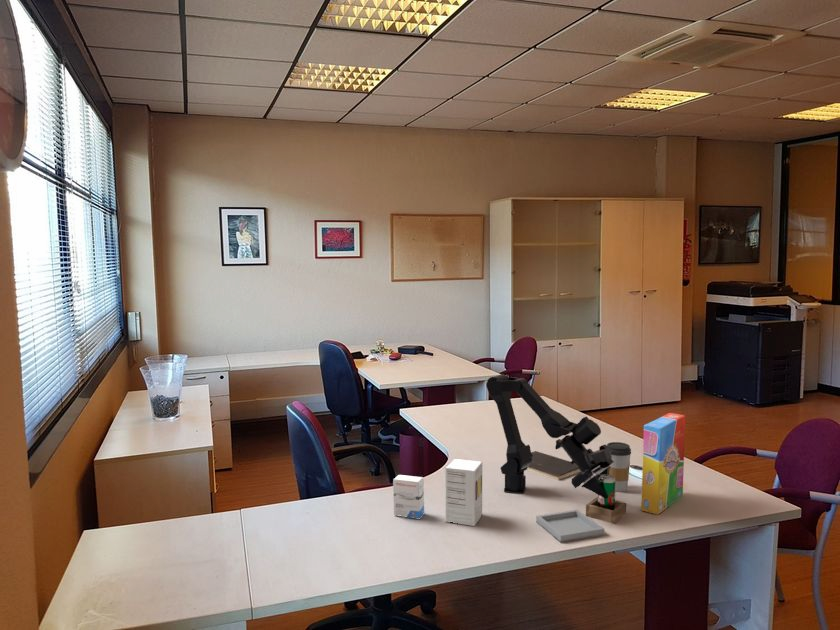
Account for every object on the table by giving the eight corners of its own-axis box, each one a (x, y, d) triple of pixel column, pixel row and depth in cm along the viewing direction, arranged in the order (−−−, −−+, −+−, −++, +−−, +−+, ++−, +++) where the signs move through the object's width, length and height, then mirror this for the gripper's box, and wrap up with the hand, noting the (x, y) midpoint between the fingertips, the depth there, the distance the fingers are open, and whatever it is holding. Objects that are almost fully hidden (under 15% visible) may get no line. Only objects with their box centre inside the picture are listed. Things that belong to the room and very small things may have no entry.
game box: (657, 515, 192) (660, 428, 189) (640, 510, 195) (642, 425, 193) (683, 495, 207) (685, 414, 204) (666, 491, 211) (668, 411, 208)
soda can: (595, 511, 195) (595, 474, 194) (611, 511, 195) (611, 473, 194) (601, 518, 190) (602, 480, 189) (617, 518, 190) (618, 479, 189)
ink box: (424, 513, 195) (424, 476, 194) (419, 520, 191) (419, 482, 189) (399, 510, 198) (398, 473, 197) (393, 516, 193) (392, 479, 192)
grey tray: (560, 542, 175) (560, 535, 175) (536, 522, 188) (536, 515, 188) (604, 535, 179) (604, 528, 179) (577, 515, 192) (577, 509, 192)
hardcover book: (557, 482, 222) (557, 475, 222) (509, 465, 240) (509, 459, 239) (585, 471, 232) (585, 465, 232) (536, 456, 250) (536, 450, 249)
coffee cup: (631, 493, 209) (632, 449, 207) (605, 492, 211) (606, 448, 209) (628, 484, 217) (629, 442, 216) (603, 483, 219) (604, 441, 217)
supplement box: (474, 526, 185) (474, 471, 184) (444, 522, 189) (444, 467, 187) (483, 514, 194) (483, 461, 193) (454, 510, 198) (454, 457, 196)
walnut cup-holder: (585, 515, 192) (586, 504, 192) (598, 506, 199) (598, 495, 199) (614, 523, 186) (614, 512, 186) (626, 513, 193) (626, 502, 193)
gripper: (581, 445, 186) (617, 490, 180) (608, 431, 200) (641, 472, 194) (557, 465, 192) (590, 510, 186) (584, 450, 206) (616, 491, 200)
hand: (610, 495), depth 191 cm, fingers closed on soda can, 5 cm apart
